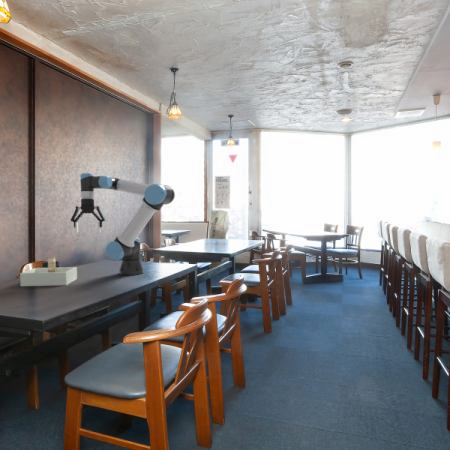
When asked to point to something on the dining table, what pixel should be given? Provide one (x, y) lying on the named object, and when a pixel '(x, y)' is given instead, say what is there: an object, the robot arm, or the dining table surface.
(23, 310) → the dining table surface
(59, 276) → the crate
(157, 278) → the dining table surface
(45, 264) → the mug
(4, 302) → the dining table surface
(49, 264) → the dowel
